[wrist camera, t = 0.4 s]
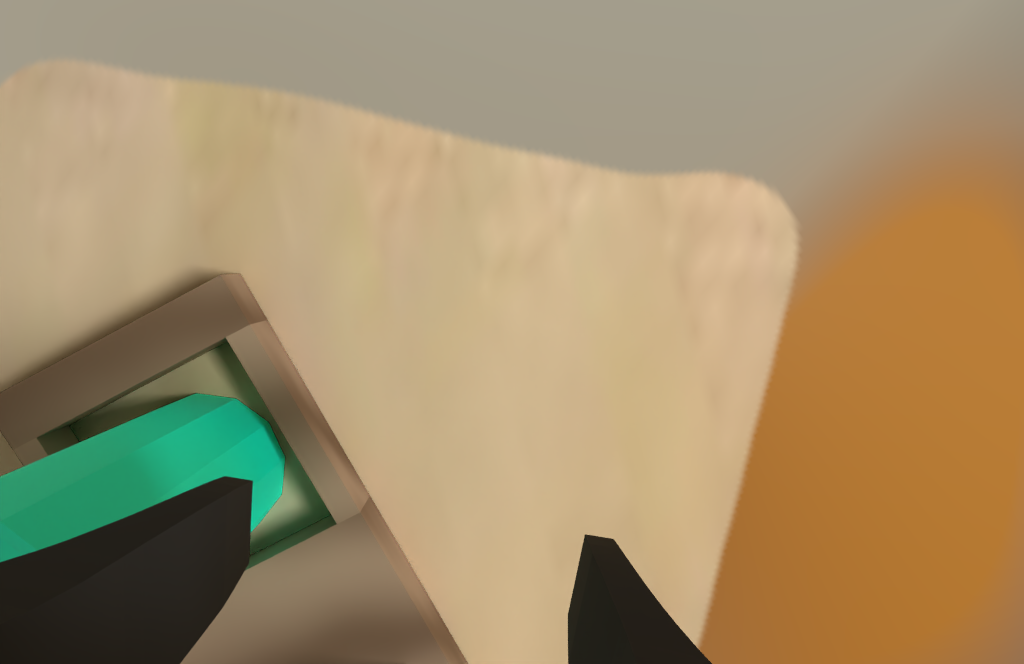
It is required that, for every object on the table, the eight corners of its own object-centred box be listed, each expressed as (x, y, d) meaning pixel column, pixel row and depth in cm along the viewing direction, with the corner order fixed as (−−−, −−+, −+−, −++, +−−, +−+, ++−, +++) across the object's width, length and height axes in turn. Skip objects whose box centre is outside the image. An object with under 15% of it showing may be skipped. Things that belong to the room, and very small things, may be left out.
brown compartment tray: (485, 693, 23) (480, 810, 18) (280, 792, 24) (222, 932, 19) (240, 273, 21) (158, 277, 16) (17, 392, 21) (-129, 433, 16)
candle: (102, 452, 22) (-381, 683, 10) (218, 362, 21) (-138, 491, 10) (202, 565, 22) (-136, 909, 11) (317, 480, 22) (100, 738, 10)
